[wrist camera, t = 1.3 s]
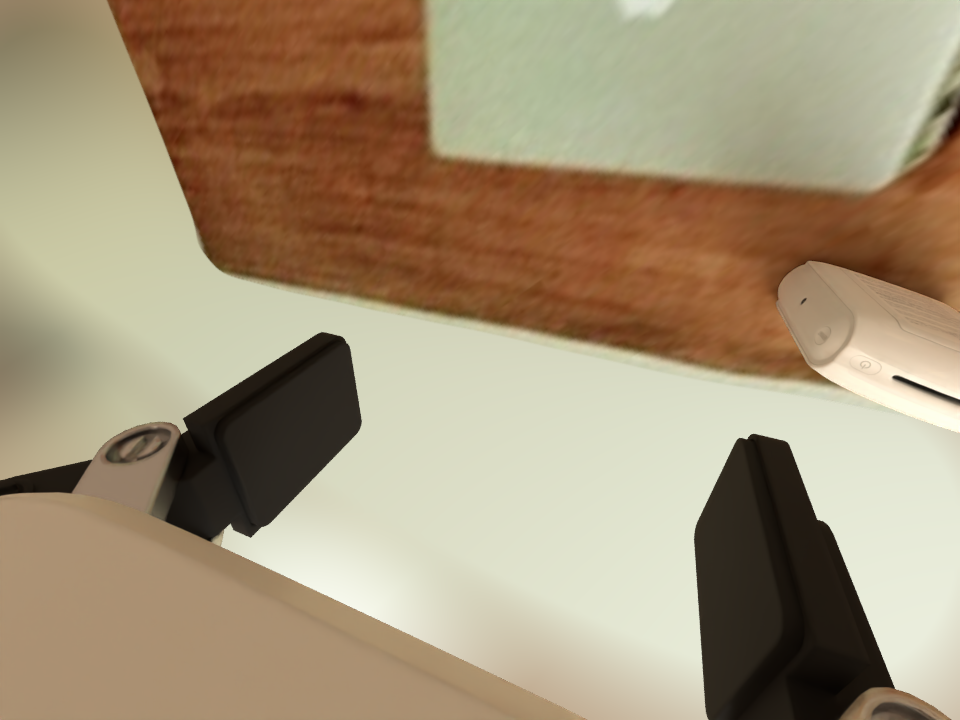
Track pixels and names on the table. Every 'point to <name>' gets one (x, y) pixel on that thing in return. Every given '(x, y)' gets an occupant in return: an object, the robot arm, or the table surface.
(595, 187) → the table surface
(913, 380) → the photo printer
